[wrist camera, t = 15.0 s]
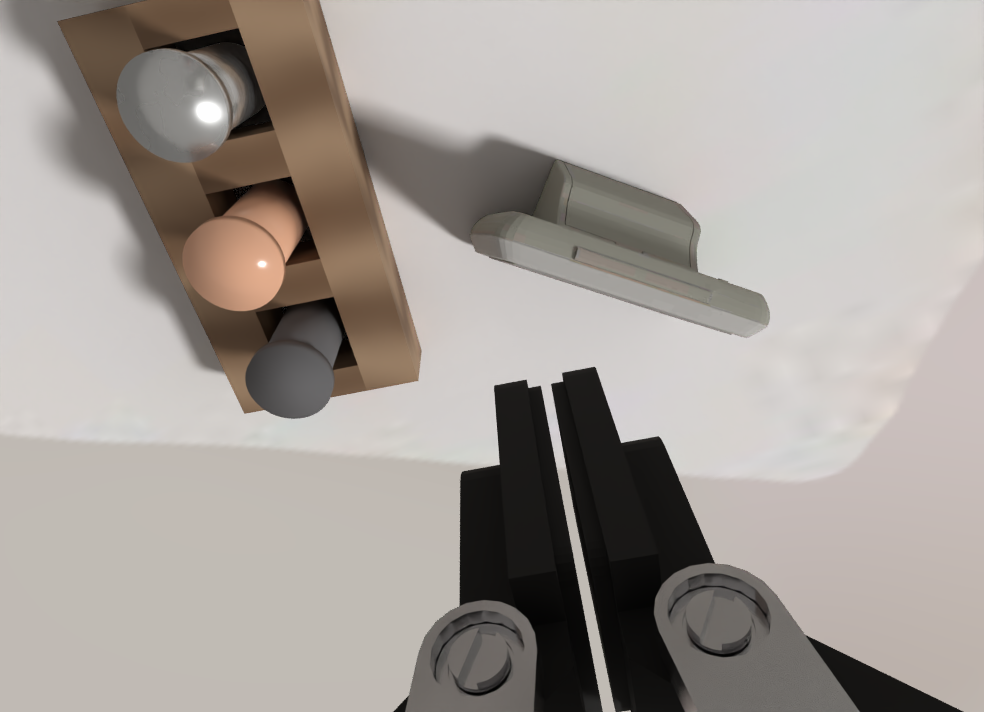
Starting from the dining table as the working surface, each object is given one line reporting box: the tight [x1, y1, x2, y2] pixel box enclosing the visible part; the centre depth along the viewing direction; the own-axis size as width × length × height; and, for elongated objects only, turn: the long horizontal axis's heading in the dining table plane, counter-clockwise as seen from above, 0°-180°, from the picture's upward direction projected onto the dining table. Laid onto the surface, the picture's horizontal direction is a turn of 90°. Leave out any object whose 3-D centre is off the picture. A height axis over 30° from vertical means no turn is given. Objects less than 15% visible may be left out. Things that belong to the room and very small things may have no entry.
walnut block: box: [57, 0, 421, 414], centre depth 39 cm, size 24×12×4 cm, turn 11°
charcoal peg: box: [245, 297, 345, 419], centre depth 41 cm, size 5×5×9 cm
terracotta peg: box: [182, 179, 308, 311], centre depth 36 cm, size 5×5×9 cm
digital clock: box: [470, 160, 770, 338], centre depth 38 cm, size 16×9×11 cm, turn 59°
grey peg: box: [116, 42, 265, 163], centre depth 33 cm, size 5×5×9 cm
